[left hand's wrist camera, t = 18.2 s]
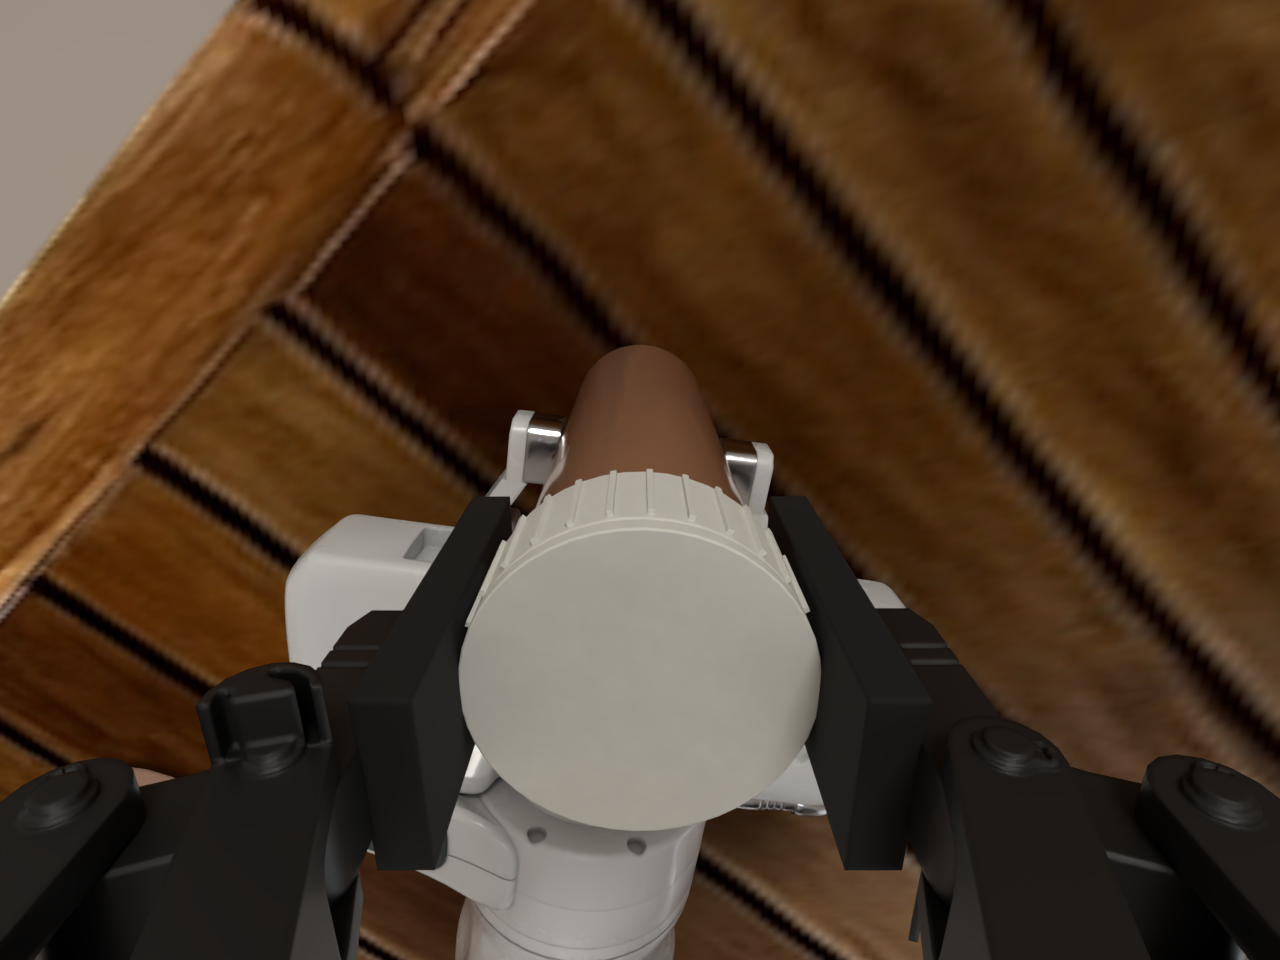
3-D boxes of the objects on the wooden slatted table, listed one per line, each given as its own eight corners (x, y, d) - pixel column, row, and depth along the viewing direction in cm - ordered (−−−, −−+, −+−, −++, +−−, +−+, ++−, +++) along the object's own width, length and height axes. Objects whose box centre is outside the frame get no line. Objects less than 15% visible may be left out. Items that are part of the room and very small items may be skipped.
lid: (755, 751, 14) (778, 855, 11) (473, 713, 13) (440, 812, 11) (829, 493, 12) (873, 556, 9) (501, 442, 11) (467, 494, 9)
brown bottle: (568, 453, 27) (469, 765, 11) (589, 333, 26) (506, 501, 10) (687, 476, 28) (751, 809, 12) (715, 358, 26) (833, 561, 10)
